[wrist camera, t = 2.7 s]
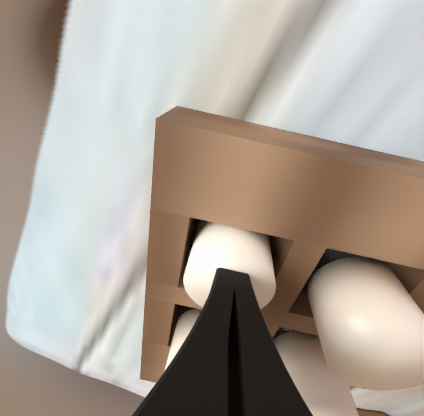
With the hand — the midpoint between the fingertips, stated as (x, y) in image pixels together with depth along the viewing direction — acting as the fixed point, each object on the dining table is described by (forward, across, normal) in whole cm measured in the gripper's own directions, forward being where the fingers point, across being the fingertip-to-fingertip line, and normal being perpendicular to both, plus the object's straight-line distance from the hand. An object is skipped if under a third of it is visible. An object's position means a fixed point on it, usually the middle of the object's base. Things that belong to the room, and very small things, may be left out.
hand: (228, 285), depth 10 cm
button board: (+4, -3, +4) cm, 6 cm away
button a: (+3, 0, 0) cm, 3 cm away
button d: (+2, -6, +6) cm, 9 cm away
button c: (+1, -6, 0) cm, 6 cm away
